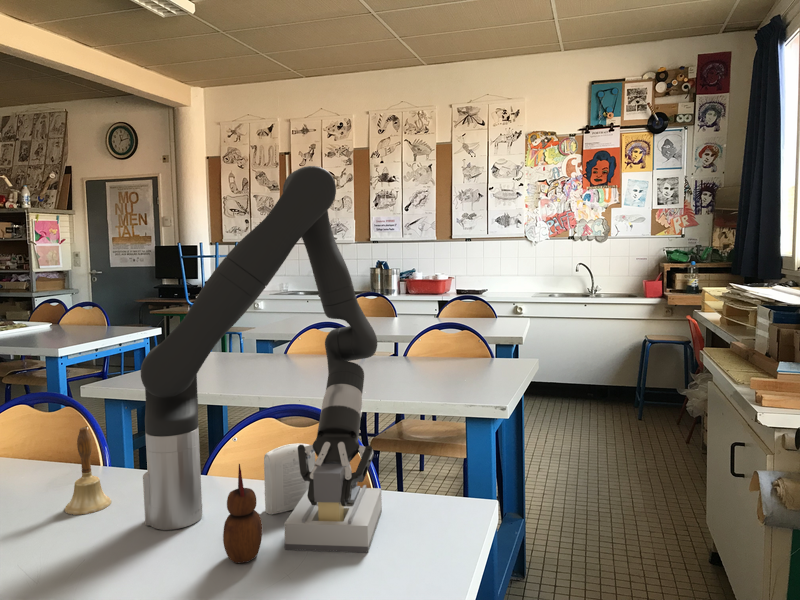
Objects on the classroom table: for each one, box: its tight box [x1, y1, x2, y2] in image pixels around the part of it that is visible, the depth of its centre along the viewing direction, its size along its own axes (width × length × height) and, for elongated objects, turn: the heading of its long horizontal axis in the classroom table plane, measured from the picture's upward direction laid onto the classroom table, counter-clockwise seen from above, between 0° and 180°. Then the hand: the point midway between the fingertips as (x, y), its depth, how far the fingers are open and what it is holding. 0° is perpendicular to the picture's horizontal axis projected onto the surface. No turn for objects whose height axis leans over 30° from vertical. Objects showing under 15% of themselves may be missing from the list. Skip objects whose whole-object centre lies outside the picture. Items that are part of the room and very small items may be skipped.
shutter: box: [349, 482, 361, 503], centre depth 111 cm, size 6×7×3 cm
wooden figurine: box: [222, 463, 263, 564], centre depth 97 cm, size 7×6×15 cm
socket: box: [283, 484, 383, 554], centre depth 107 cm, size 14×16×5 cm
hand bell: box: [64, 426, 112, 516], centre depth 119 cm, size 8×8×16 cm
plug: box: [313, 464, 345, 522], centre depth 103 cm, size 5×5×10 cm
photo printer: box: [263, 442, 316, 515], centre depth 117 cm, size 10×4×12 cm, turn 123°
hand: (328, 503), depth 101 cm, fingers closed on plug, 4 cm apart
